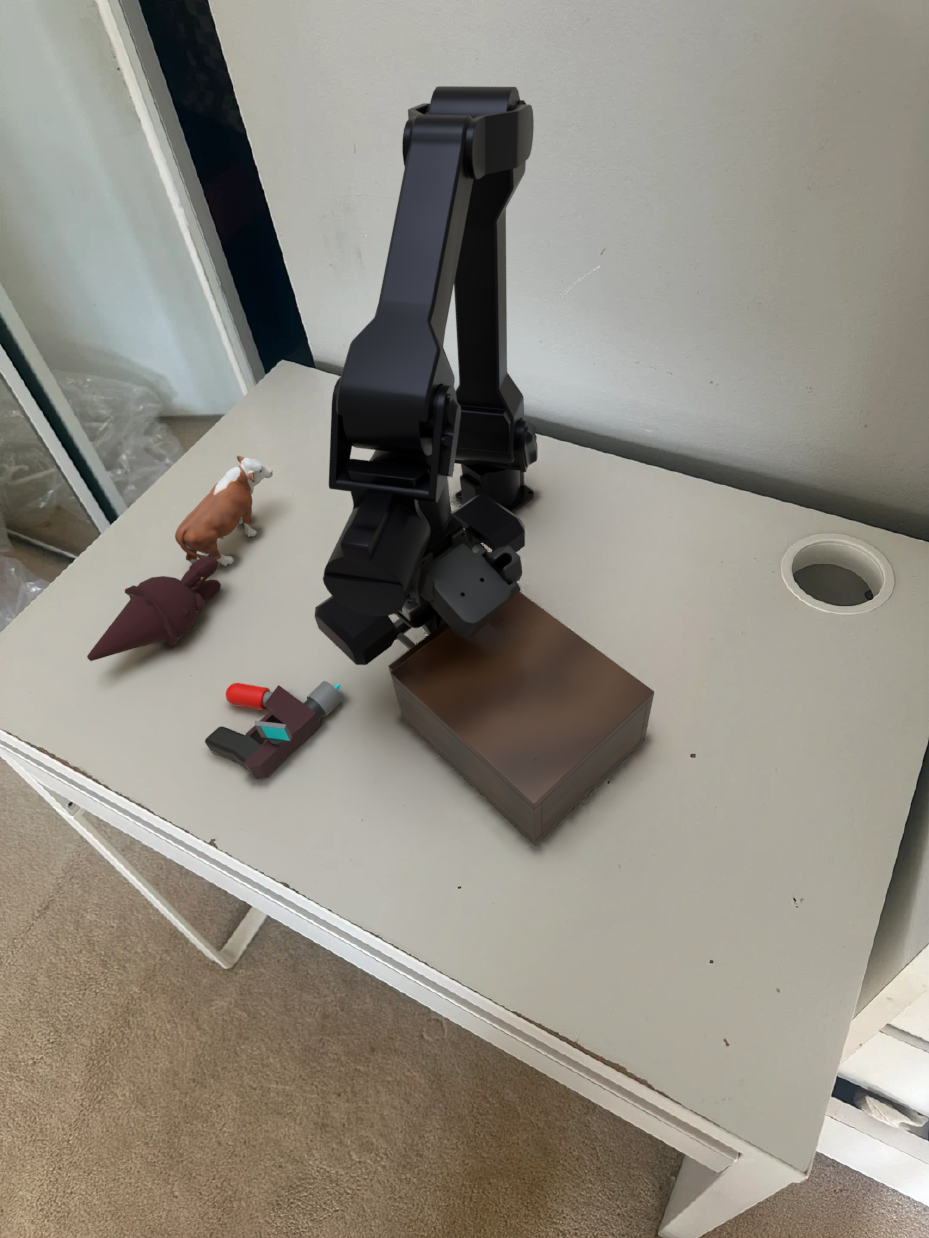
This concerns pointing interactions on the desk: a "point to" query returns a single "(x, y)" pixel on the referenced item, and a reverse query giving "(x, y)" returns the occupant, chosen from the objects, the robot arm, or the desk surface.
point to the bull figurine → (222, 512)
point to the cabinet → (524, 712)
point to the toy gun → (272, 725)
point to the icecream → (159, 610)
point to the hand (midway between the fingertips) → (433, 634)
